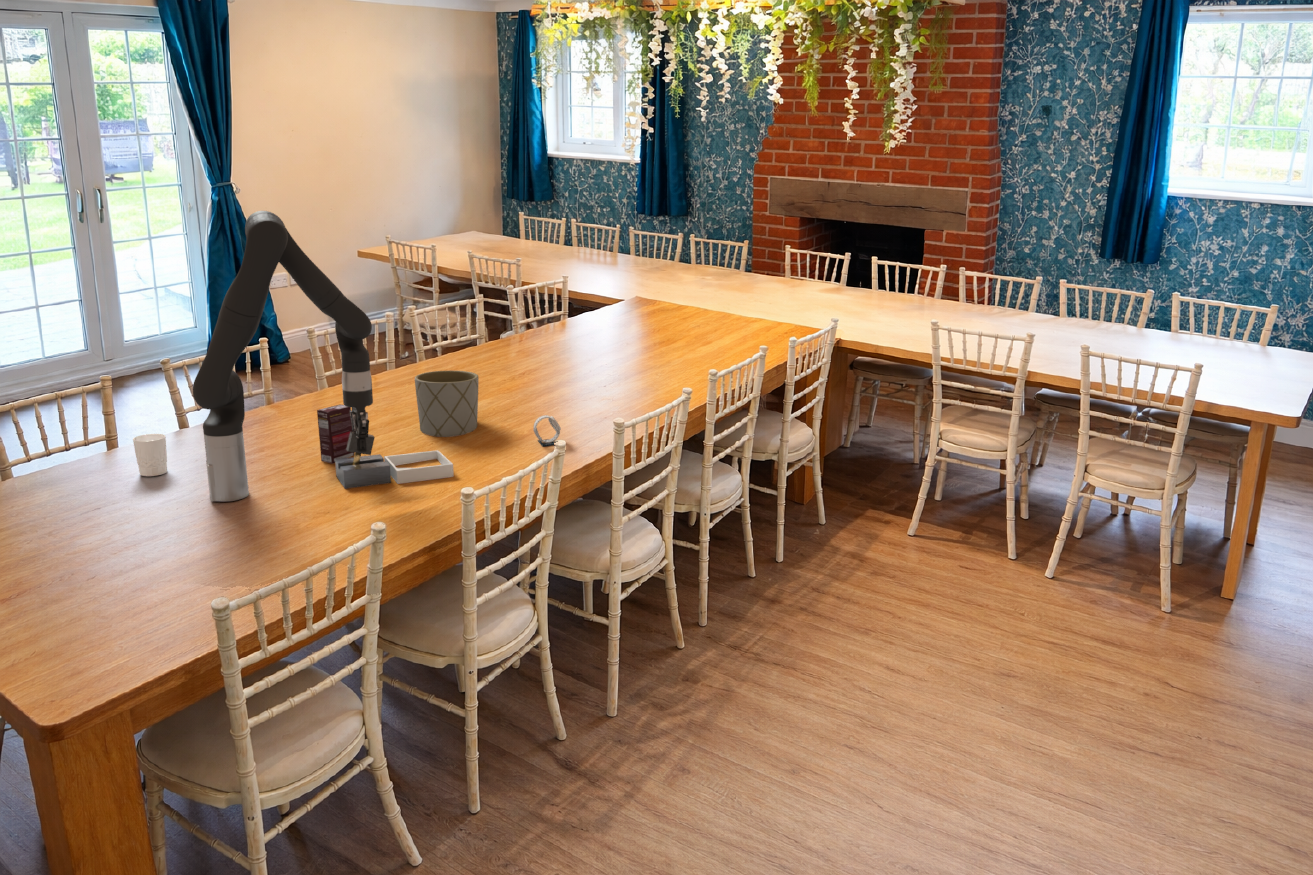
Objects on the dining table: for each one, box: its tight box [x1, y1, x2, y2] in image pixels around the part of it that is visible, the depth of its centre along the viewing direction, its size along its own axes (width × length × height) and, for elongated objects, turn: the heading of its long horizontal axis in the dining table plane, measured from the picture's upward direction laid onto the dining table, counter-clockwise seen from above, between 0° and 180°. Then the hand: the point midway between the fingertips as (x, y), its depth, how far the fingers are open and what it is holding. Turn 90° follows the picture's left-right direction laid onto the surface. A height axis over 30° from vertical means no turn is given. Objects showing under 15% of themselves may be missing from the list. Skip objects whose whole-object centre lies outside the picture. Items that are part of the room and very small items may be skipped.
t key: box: [346, 431, 375, 465], centre depth 267 cm, size 6×2×10 cm, turn 118°
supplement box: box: [316, 403, 355, 465], centre depth 283 cm, size 9×5×16 cm, turn 149°
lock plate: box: [334, 454, 392, 489], centre depth 268 cm, size 12×12×5 cm
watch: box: [533, 414, 562, 448], centre depth 296 cm, size 6×8×11 cm
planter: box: [414, 369, 479, 438], centre depth 307 cm, size 19×19×20 cm
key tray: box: [383, 450, 455, 485], centre depth 275 cm, size 15×15×4 cm
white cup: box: [132, 433, 168, 477], centre depth 271 cm, size 8×8×10 cm
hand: (361, 450), depth 267 cm, fingers closed on t key, 2 cm apart
